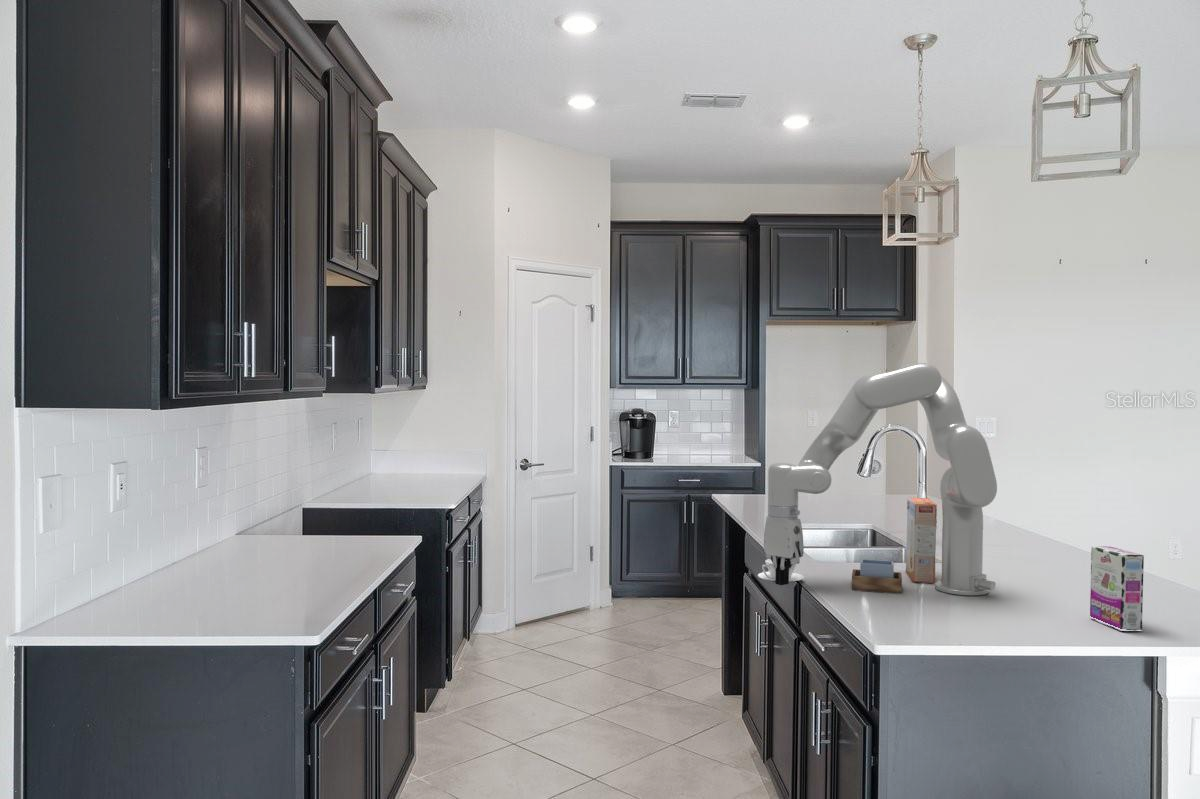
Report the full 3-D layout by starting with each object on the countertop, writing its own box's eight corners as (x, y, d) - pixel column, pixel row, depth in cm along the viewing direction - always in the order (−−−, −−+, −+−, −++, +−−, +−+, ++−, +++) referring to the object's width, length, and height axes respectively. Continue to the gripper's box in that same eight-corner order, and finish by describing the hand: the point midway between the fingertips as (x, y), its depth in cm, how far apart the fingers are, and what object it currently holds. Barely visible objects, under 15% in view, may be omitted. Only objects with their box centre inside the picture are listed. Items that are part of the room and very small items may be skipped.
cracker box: (936, 584, 235) (937, 504, 235) (912, 582, 237) (913, 503, 236) (928, 572, 249) (929, 497, 249) (905, 571, 250) (906, 496, 250)
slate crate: (893, 584, 232) (893, 561, 232) (893, 589, 226) (893, 565, 226) (860, 582, 234) (861, 559, 234) (860, 586, 229) (860, 563, 229)
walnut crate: (901, 585, 233) (901, 572, 233) (901, 593, 224) (901, 579, 224) (852, 582, 236) (852, 569, 236) (851, 590, 228) (851, 576, 228)
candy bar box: (1144, 632, 191) (1145, 554, 191) (1121, 632, 191) (1123, 555, 190) (1109, 618, 202) (1111, 545, 202) (1088, 618, 202) (1089, 545, 201)
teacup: (748, 579, 239) (748, 559, 239) (780, 574, 246) (780, 555, 246) (781, 588, 229) (781, 567, 229) (813, 582, 236) (814, 562, 236)
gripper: (815, 514, 226) (814, 588, 226) (772, 507, 238) (771, 577, 238) (794, 517, 221) (793, 591, 222) (751, 509, 234) (750, 580, 234)
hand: (782, 583), depth 230 cm, fingers closed
